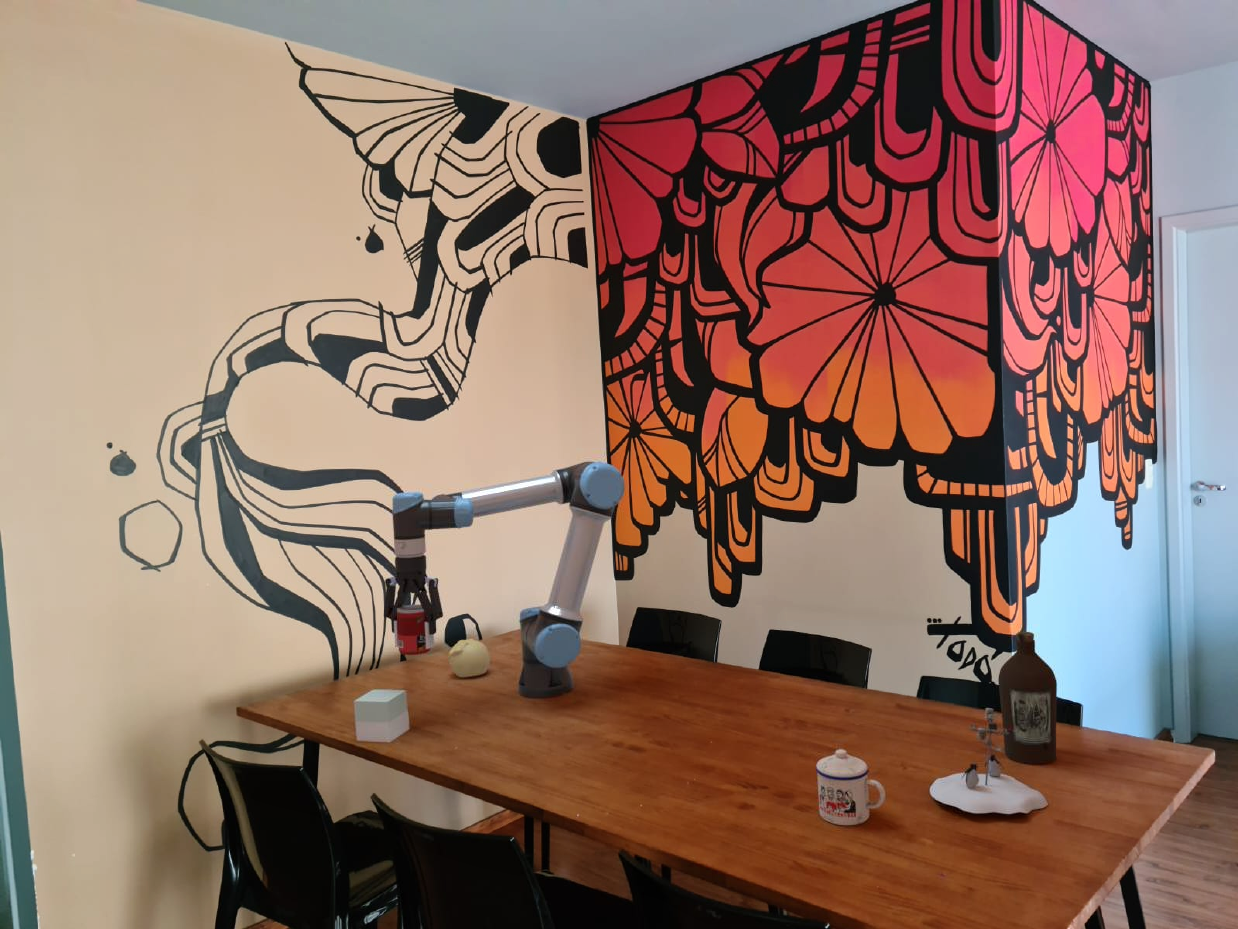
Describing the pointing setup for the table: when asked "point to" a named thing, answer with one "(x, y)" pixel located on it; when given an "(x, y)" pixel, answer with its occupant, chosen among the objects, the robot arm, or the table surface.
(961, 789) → the figurine
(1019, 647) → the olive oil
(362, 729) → the tower base
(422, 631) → the canned food
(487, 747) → the table surface
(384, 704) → the tower top
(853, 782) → the teacup with lid
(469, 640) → the sculpture
